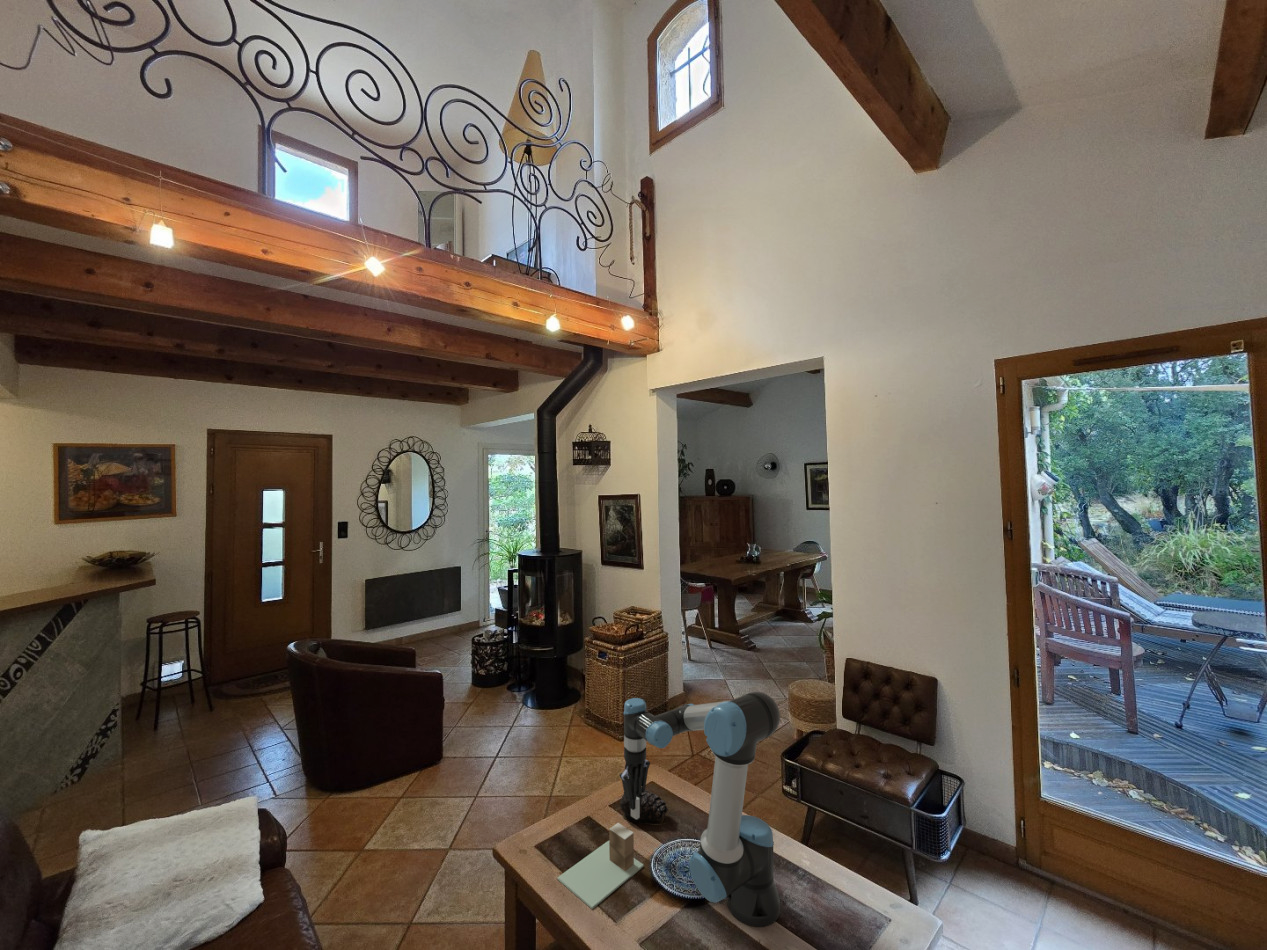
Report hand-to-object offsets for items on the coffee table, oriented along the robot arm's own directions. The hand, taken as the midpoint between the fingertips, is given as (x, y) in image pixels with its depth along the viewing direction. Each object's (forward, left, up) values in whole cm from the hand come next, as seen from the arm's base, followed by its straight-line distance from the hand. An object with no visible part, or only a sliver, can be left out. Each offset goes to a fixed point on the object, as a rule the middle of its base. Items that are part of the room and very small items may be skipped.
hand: (635, 816), depth 170 cm
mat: (0, +16, -10) cm, 19 cm away
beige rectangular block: (-2, +9, -9) cm, 13 cm away
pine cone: (+8, -13, -10) cm, 18 cm away
